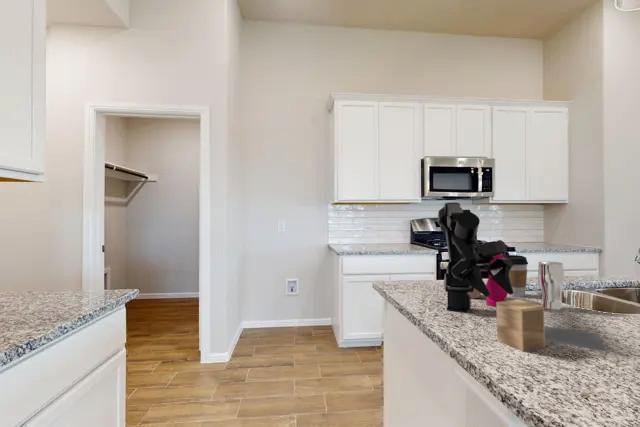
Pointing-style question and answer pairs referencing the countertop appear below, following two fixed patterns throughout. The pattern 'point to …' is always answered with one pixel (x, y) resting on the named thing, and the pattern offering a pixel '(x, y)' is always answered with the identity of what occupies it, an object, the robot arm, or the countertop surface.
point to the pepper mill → (495, 288)
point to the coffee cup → (518, 274)
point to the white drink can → (551, 284)
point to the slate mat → (574, 338)
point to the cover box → (520, 324)
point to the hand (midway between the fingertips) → (500, 294)
